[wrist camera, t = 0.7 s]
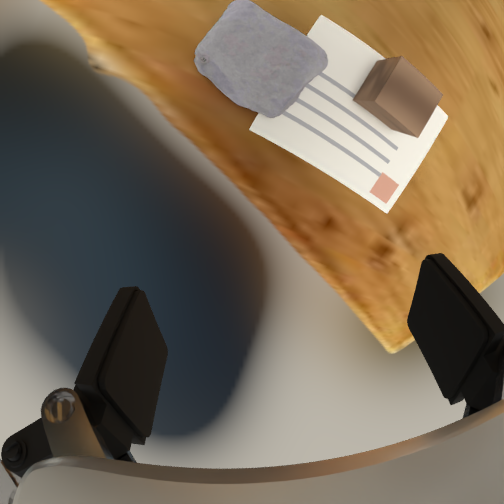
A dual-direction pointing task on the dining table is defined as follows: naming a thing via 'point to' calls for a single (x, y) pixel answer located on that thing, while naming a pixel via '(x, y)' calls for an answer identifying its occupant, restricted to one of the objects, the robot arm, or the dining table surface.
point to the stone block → (258, 59)
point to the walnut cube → (399, 96)
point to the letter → (348, 124)
